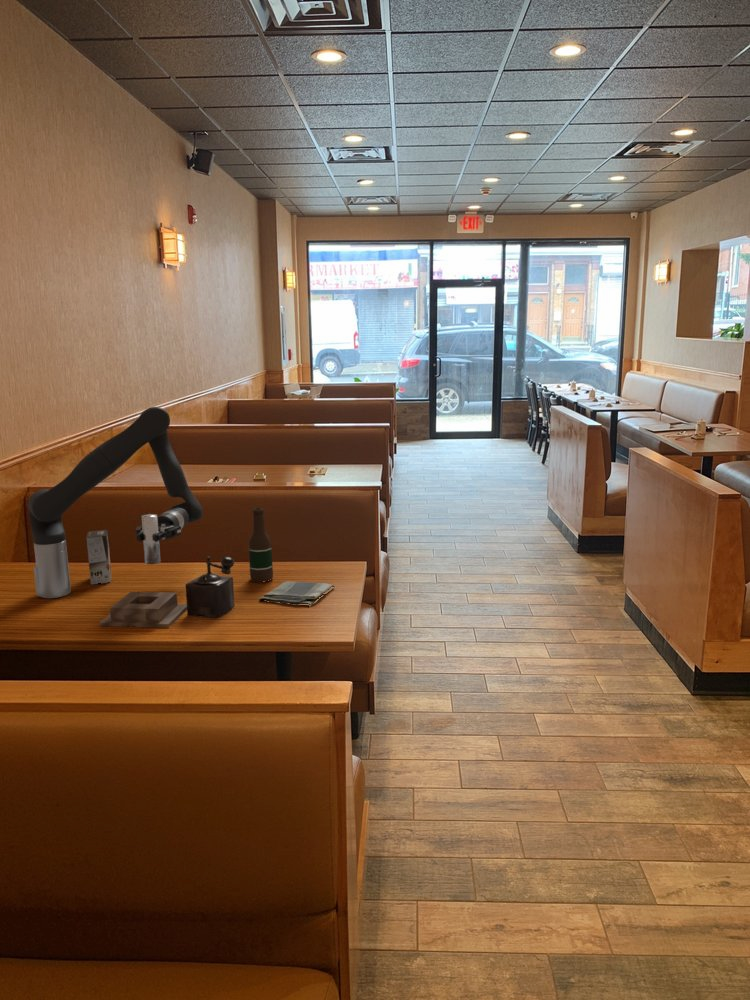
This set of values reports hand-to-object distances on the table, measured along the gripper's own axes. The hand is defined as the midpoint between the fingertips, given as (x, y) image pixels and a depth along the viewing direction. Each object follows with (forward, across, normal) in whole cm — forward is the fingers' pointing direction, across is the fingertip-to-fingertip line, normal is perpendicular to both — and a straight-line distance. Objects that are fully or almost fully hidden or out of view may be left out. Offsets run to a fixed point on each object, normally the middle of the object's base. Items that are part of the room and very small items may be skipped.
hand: (147, 538), depth 219 cm
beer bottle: (-30, +25, +22) cm, 45 cm away
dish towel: (-15, +40, +22) cm, 48 cm away
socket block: (+5, 0, +22) cm, 22 cm away
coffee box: (-28, -29, +22) cm, 46 cm away
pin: (-3, 0, +8) cm, 8 cm away
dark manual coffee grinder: (+1, +20, +22) cm, 30 cm away
